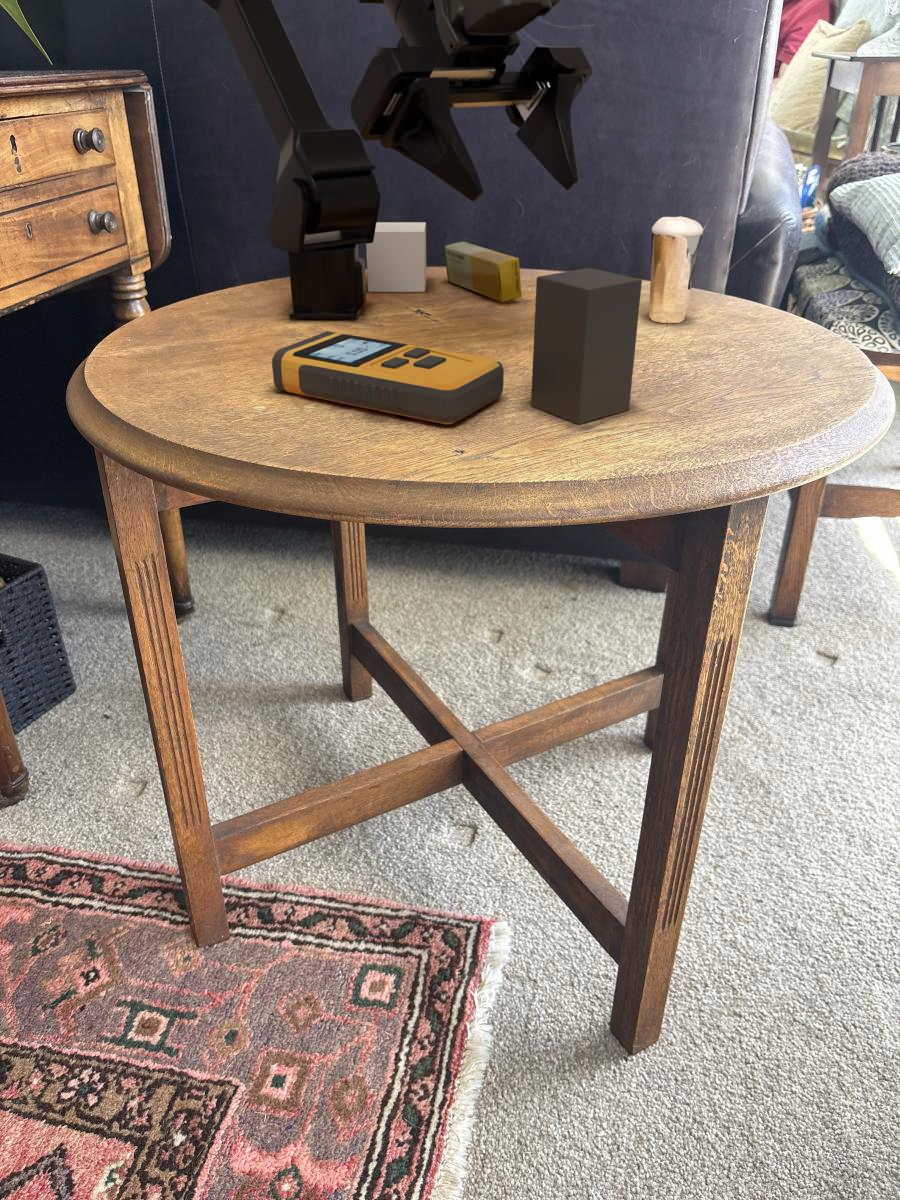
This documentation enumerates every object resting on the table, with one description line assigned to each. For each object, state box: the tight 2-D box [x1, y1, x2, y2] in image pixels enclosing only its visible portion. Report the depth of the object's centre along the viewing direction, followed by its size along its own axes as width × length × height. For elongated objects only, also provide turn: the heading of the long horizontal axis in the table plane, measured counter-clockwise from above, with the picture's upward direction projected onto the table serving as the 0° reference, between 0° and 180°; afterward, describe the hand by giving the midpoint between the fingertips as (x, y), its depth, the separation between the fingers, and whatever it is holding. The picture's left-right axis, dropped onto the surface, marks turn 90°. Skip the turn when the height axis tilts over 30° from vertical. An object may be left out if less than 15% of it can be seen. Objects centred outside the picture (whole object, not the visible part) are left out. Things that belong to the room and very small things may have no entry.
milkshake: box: [648, 207, 716, 324], centre depth 86 cm, size 5×5×10 cm
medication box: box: [443, 240, 523, 303], centre depth 98 cm, size 12×3×4 cm, turn 27°
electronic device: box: [271, 330, 505, 425], centre depth 69 cm, size 8×16×3 cm, turn 59°
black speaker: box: [530, 267, 643, 425], centre depth 65 cm, size 5×5×9 cm
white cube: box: [365, 221, 427, 293], centre depth 100 cm, size 6×6×6 cm
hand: (527, 191), depth 66 cm, fingers open, 9 cm apart
